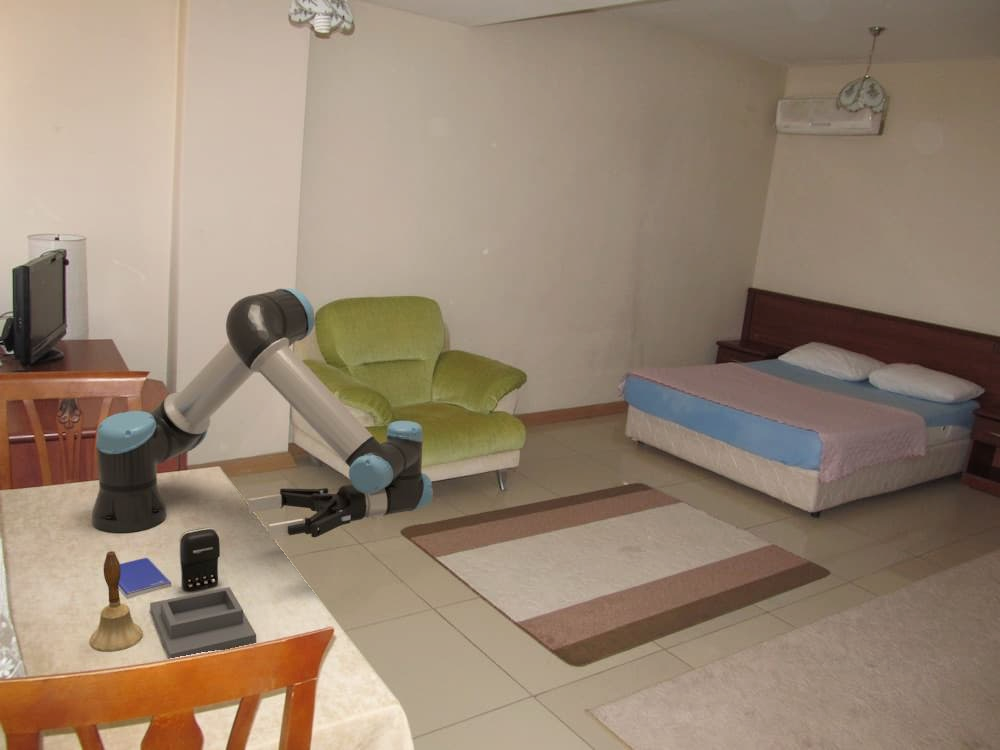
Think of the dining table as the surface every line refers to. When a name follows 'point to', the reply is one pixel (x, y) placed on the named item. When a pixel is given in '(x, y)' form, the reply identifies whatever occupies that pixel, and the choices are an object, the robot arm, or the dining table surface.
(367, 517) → the robot arm
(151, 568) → the hard drive
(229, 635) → the dock
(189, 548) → the battery charger
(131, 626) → the hand bell
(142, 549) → the dining table surface
